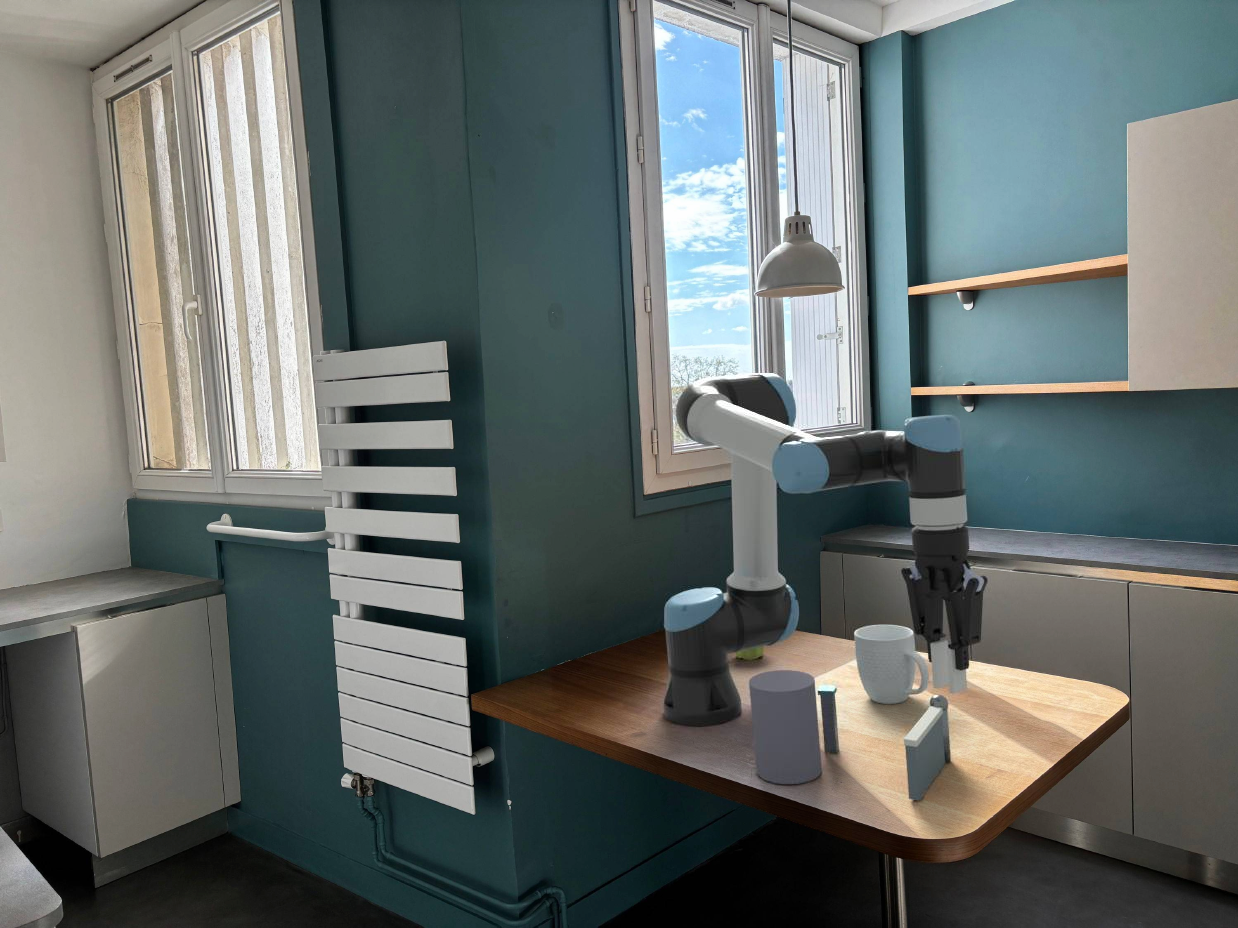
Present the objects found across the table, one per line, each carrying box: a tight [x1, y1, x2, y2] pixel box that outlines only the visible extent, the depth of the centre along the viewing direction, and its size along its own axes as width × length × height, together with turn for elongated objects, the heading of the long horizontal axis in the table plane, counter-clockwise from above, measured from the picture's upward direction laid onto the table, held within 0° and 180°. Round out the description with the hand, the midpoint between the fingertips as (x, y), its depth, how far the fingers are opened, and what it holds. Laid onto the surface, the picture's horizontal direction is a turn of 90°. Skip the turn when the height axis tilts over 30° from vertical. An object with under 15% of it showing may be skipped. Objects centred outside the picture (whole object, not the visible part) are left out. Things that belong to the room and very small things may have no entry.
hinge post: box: [929, 694, 952, 765], centre depth 137 cm, size 3×3×11 cm
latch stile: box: [817, 684, 840, 755], centre depth 145 cm, size 3×3×11 cm
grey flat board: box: [903, 705, 946, 802], centre depth 130 cm, size 14×2×9 cm, turn 145°
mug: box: [853, 624, 930, 705], centre depth 164 cm, size 15×11×13 cm
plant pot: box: [735, 646, 765, 661], centre depth 201 cm, size 9×9×9 cm
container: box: [748, 669, 822, 786], centre depth 138 cm, size 10×10×15 cm
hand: (950, 687), depth 123 cm, fingers open, 2 cm apart
